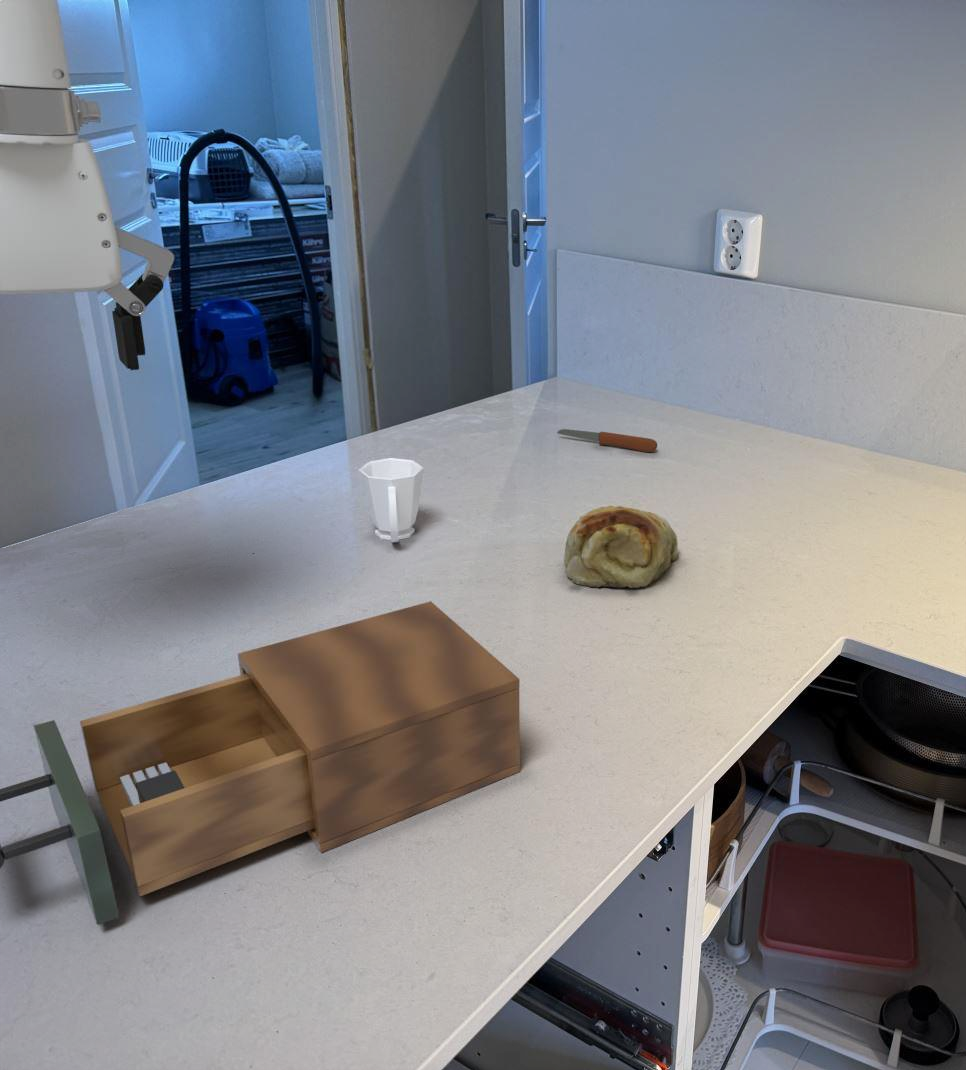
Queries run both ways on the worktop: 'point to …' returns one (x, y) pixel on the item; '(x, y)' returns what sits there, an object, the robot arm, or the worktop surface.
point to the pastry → (619, 548)
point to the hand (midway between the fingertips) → (54, 371)
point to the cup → (392, 495)
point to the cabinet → (390, 716)
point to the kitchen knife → (614, 439)
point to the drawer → (182, 816)
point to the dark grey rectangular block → (150, 784)
